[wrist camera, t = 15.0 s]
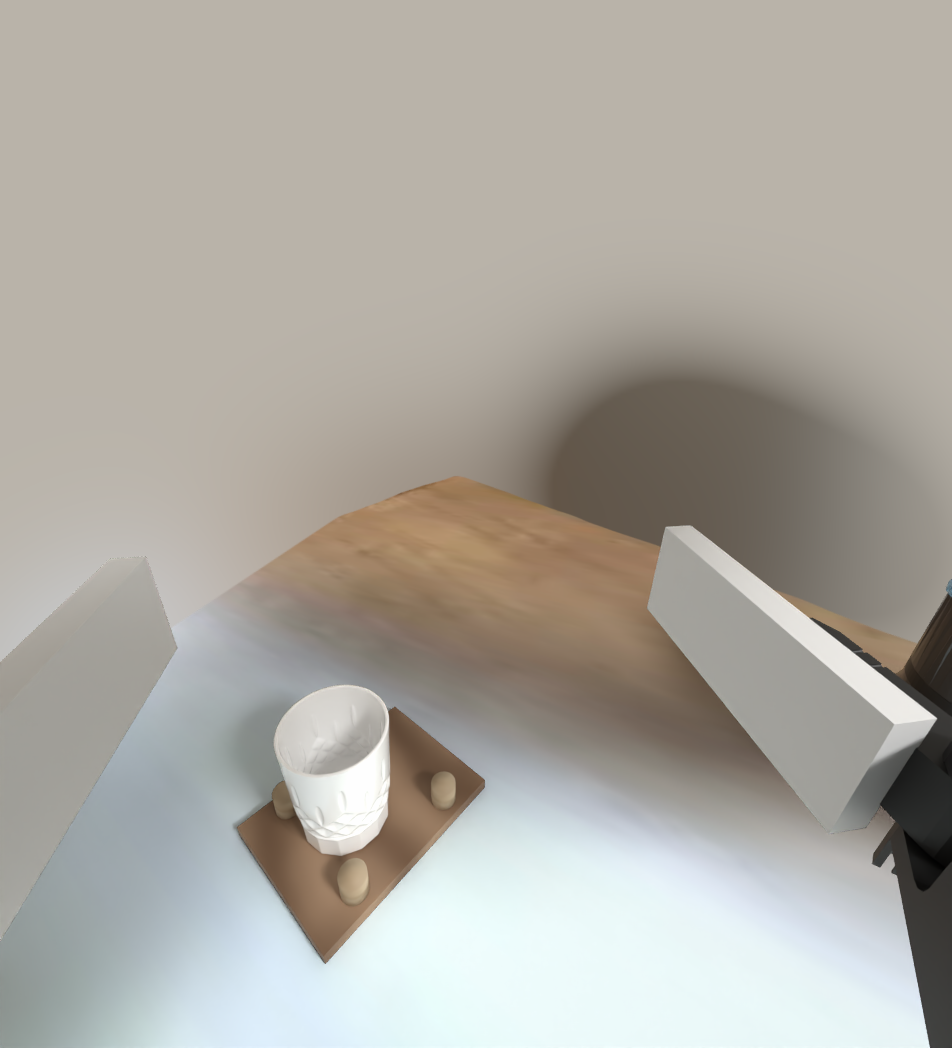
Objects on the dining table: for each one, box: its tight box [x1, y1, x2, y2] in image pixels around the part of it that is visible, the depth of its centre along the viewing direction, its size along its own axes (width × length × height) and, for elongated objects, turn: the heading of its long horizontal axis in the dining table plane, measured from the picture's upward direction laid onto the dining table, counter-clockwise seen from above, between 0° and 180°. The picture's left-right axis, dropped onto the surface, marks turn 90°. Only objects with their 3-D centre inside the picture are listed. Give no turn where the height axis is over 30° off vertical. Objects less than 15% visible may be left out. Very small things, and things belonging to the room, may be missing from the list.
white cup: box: [274, 685, 390, 856], centre depth 35 cm, size 8×8×10 cm
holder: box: [237, 707, 485, 964], centre depth 38 cm, size 16×12×3 cm
